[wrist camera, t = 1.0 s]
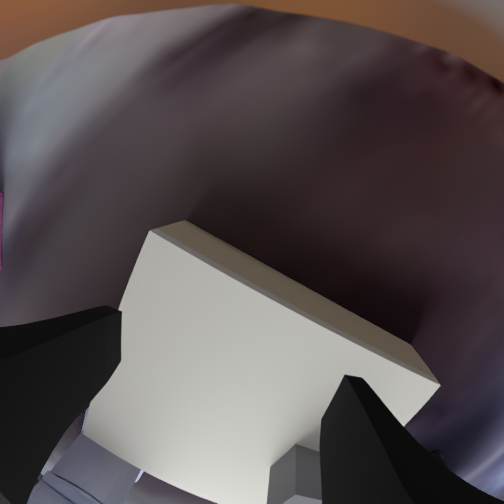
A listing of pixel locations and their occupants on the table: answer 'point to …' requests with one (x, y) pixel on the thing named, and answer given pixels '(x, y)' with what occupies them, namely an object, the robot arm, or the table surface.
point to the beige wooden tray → (293, 292)
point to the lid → (230, 382)
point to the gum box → (0, 205)
